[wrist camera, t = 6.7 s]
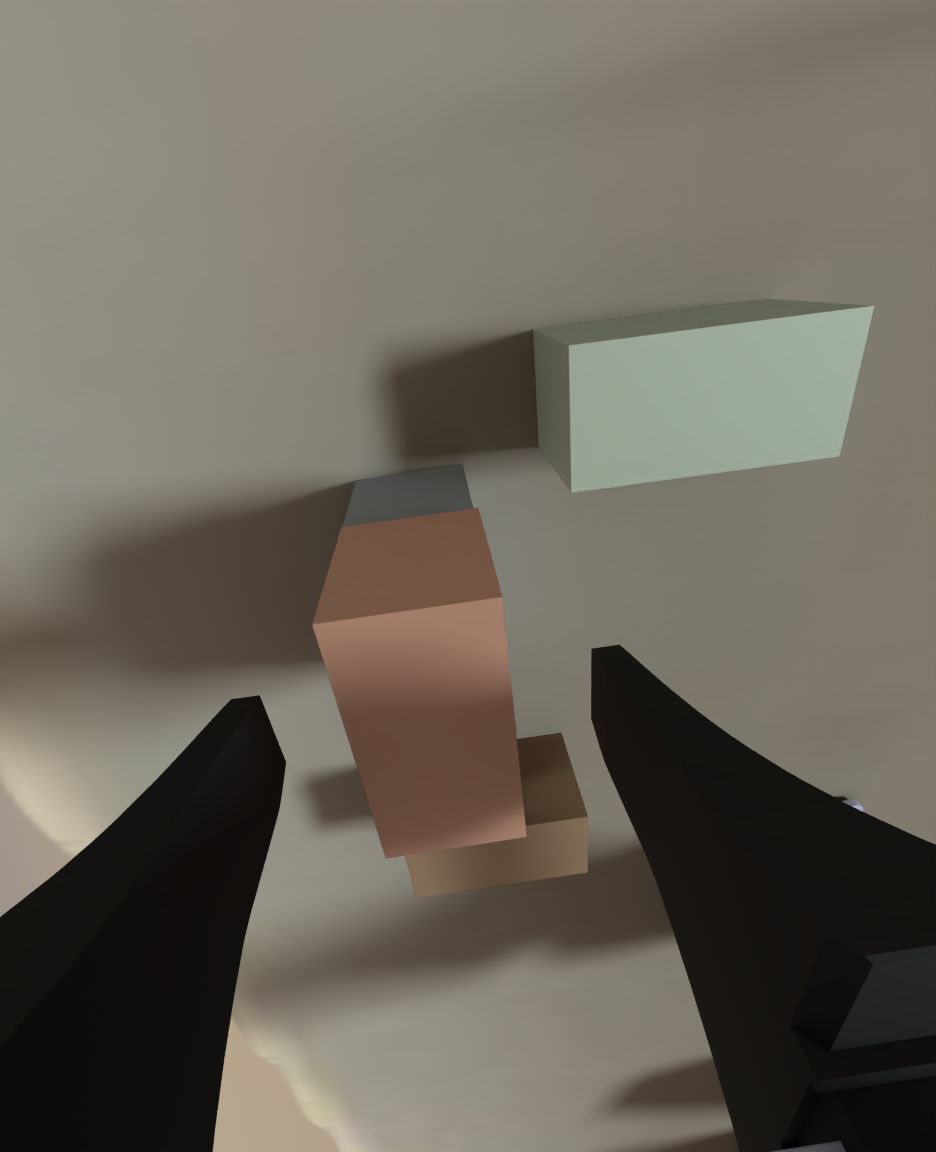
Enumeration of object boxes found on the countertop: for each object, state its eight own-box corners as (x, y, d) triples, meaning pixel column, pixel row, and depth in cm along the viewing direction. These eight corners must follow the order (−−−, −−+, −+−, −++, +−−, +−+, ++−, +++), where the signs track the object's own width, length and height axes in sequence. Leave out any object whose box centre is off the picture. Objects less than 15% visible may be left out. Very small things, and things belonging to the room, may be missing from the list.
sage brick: (765, 299, 15) (874, 305, 11) (748, 417, 16) (839, 456, 13) (532, 329, 15) (568, 345, 11) (537, 446, 16) (571, 492, 13)
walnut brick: (560, 730, 22) (587, 816, 18) (562, 783, 23) (587, 872, 20) (404, 753, 22) (401, 844, 18) (416, 805, 23) (416, 897, 20)
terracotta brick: (501, 712, 16) (527, 837, 12) (392, 728, 16) (385, 858, 12) (478, 507, 13) (502, 596, 9) (341, 527, 12) (312, 624, 9)
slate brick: (487, 636, 19) (503, 716, 16) (398, 650, 19) (394, 733, 16) (462, 463, 16) (474, 515, 13) (356, 480, 16) (339, 536, 13)
